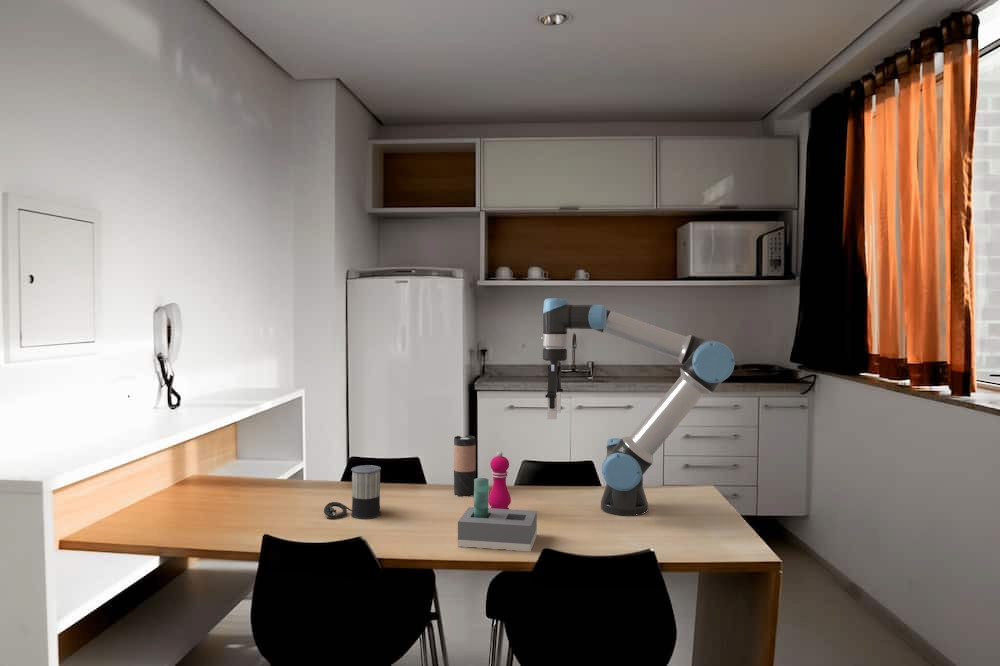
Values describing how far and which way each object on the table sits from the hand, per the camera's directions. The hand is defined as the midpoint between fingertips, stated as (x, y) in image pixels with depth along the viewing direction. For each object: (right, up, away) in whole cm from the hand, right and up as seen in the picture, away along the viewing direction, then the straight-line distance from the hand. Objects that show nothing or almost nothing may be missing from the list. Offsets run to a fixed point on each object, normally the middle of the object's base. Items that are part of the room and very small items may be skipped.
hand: (554, 415), depth 218 cm
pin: (-22, -30, -21) cm, 43 cm away
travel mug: (-29, -31, +26) cm, 50 cm away
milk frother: (-63, -32, +1) cm, 71 cm away
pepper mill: (-17, -32, +3) cm, 36 cm away
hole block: (-17, -32, -22) cm, 43 cm away
